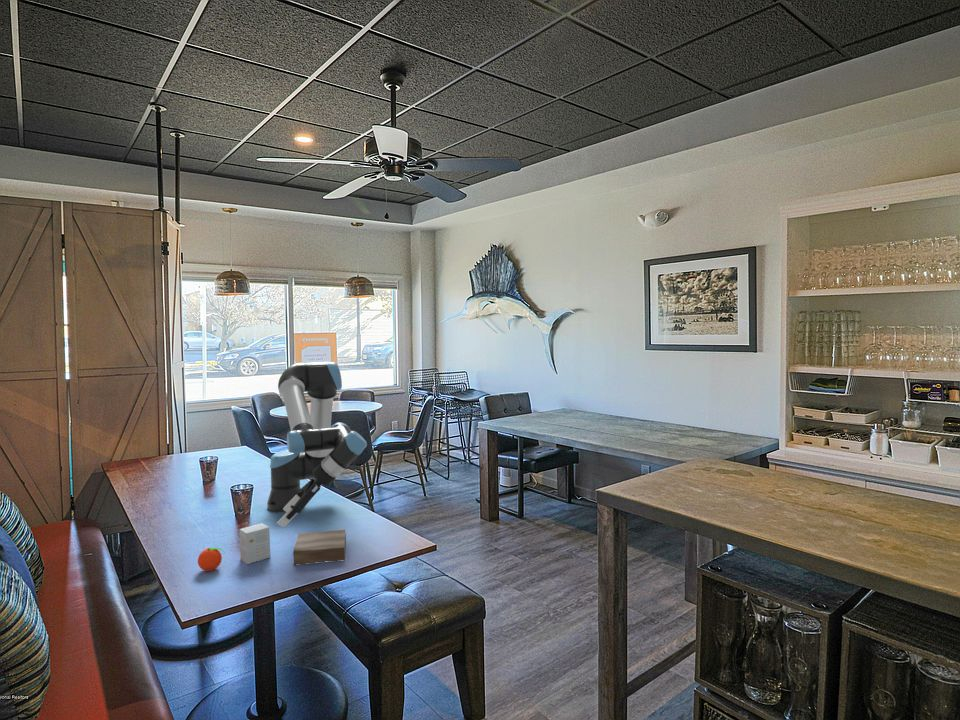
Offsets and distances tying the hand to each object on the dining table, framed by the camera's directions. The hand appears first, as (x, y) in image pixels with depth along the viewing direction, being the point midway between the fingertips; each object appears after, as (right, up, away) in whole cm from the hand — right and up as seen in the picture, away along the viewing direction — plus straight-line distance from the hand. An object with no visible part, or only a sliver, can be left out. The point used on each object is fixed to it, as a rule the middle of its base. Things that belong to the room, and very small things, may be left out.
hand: (283, 518), depth 190 cm
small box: (-9, -14, 0) cm, 16 cm away
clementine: (-20, -14, -9) cm, 26 cm away
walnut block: (+12, -13, +4) cm, 18 cm away
